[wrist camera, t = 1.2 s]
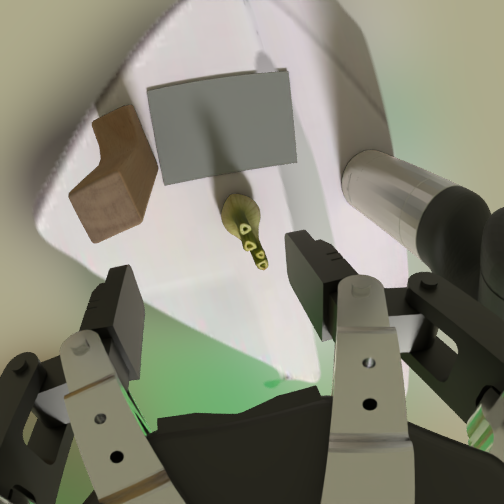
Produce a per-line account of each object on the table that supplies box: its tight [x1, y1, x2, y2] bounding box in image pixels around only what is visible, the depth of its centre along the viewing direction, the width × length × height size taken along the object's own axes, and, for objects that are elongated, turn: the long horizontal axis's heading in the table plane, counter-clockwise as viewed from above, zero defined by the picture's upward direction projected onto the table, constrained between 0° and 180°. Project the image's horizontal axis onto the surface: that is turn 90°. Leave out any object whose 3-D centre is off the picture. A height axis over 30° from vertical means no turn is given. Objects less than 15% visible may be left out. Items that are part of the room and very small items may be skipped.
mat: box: [147, 71, 297, 186], centre depth 37 cm, size 17×12×1 cm
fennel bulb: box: [221, 194, 268, 270], centre depth 37 cm, size 6×5×12 cm
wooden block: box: [69, 105, 158, 243], centre depth 28 cm, size 9×4×18 cm, turn 18°
